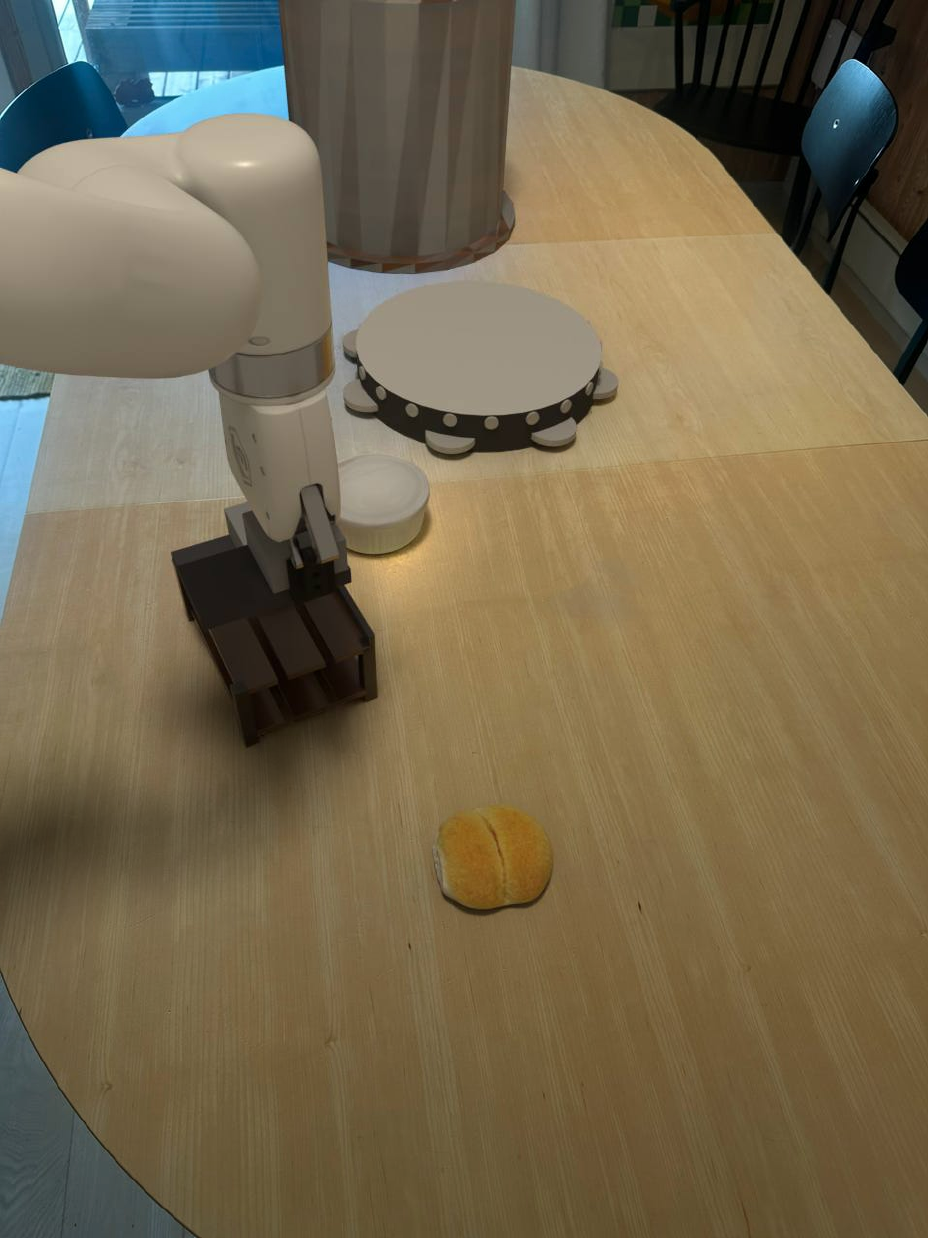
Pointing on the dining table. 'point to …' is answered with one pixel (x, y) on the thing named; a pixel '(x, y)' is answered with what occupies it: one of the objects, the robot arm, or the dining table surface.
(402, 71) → the storage basket
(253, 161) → the robot arm
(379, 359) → the tambourine
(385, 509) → the ramekin
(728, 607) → the dining table surface
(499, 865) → the bread roll
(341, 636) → the rack
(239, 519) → the grey block
